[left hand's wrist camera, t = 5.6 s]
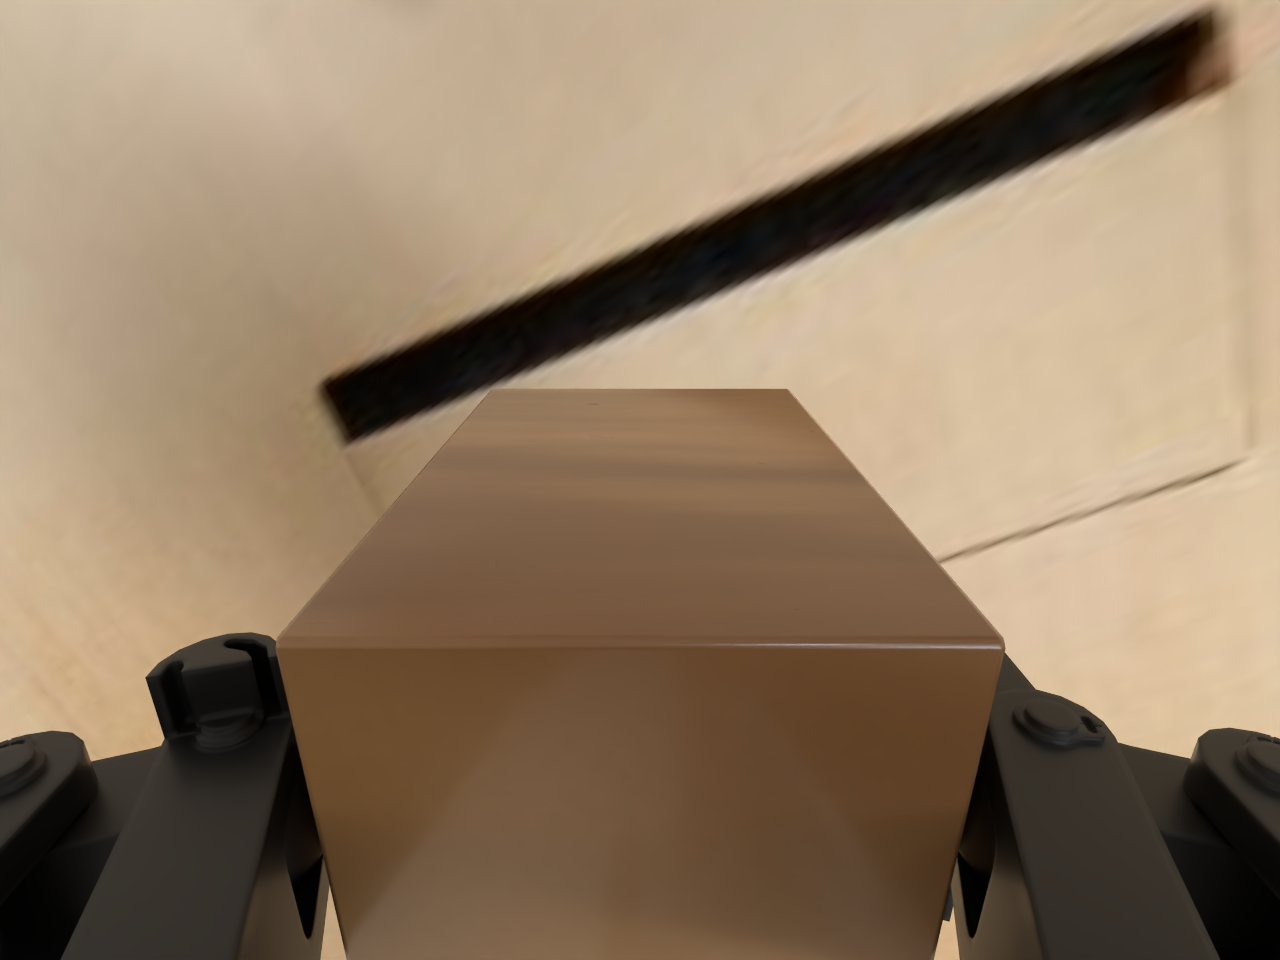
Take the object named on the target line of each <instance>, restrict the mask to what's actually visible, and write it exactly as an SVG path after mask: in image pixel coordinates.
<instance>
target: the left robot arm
mask: <svg viewBox="0 0 1280 960" xmlns="http://www.w3.org/2000/svg"><path fill="white" fill-rule="evenodd" d="M275 648H276V641H275V640H274V639H272V638H271V637H270V636H267V635H262V634H257V633H234V634H226V635H222V636H218V637H213V638H209V639H205V640H202V641H200V642H197V643H195V644H192V645H190V646H187V647H185V648H183V649H180V650H178V651H177V652H175V653H174V654H172V655H170V656H169V657H167V658H166V659H164V660H163V661H161V662H160V663H158V664H157V665H156V667H155V668H154V669H153V670H152V671H151V672H150V673H149V674H148V675H147V677H146V681H147V684H148V687H149V690H150V693H151V697H152V700H153V703H154V706H155V709H156V712H157V716H158V719H159V722H160V725H161V728H162V731H163V734H164V738H165V739H164V741H163V743H162V745H161V746H159V747H156V748H152V749H148V750H143V751H138V752H134V753H129V754H124V755H120V756H115V757H110V758H106V759H101V760H96V761H92V762H91V760H90V758H89V755H88V752H87V750H86V747H85V744H84V741H83V740H81V739H80V738H79V737H77V736H76V735H75V734H73V733H70V732H60V731H47V732H41V733H35V734H28V735H24V736H20V737H16V738H12V739H11V740H9V741H8V740H6V741H3V742H1V743H0V960H320V958H321V950H322V941H323V933H324V925H325V916H326V908H327V900H328V892H329V879H328V875H327V871H326V866H325V862H324V858H323V853H322V849H321V845H320V840H319V836H318V832H317V827H316V823H315V819H314V814H313V810H312V805H311V801H310V797H309V792H308V788H307V784H306V779H305V775H304V771H303V766H302V762H301V758H300V753H299V749H298V745H297V740H296V736H295V731H294V727H293V723H292V718H291V714H290V710H289V705H288V701H287V697H286V692H285V688H284V684H283V679H282V675H281V671H280V666H279V662H278V657H277V653H276V649H275ZM953 906H954V915H955V923H956V931H957V939H958V948H959V956H960V960H1280V739H1279V738H1276V737H1274V738H1273V737H1271V736H1270V735H1266V734H1262V733H1258V732H1254V731H1247V730H1241V729H1234V728H1222V729H1213V730H1209V731H1207V732H1206V733H1204V734H1203V735H1202V736H1200V737H1199V738H1198V741H1197V743H1196V746H1195V749H1194V751H1193V754H1192V757H1191V759H1189V758H1184V757H1180V756H1175V755H1170V754H1166V753H1161V752H1156V751H1151V750H1147V749H1142V748H1137V747H1133V746H1129V745H1125V744H1121V743H1118V742H1117V740H1116V738H1115V736H1114V735H1113V734H1112V732H1111V731H1110V730H1109V728H1108V727H1107V726H1106V724H1105V723H1104V722H1103V721H1102V720H1100V719H1099V718H1098V717H1096V716H1095V715H1094V714H1092V713H1091V712H1090V711H1088V710H1087V709H1086V708H1084V707H1082V706H1080V705H1078V704H1076V703H1074V702H1072V701H1070V700H1068V699H1065V698H1063V697H1061V696H1058V695H1054V694H1051V693H1047V692H1043V691H1040V690H1036V689H1035V688H1034V687H1033V686H1032V684H1031V683H1030V682H1029V681H1028V680H1027V678H1026V677H1025V676H1024V675H1023V674H1022V672H1021V671H1020V670H1019V669H1018V668H1017V666H1016V665H1015V664H1014V663H1013V662H1012V660H1011V659H1010V658H1009V657H1008V656H1007V655H1006V653H1005V652H1004V657H1003V661H1002V665H1001V670H1000V674H999V678H998V683H997V687H996V691H995V696H994V700H993V704H992V709H991V713H990V717H989V722H988V726H987V730H986V735H985V739H984V743H983V748H982V752H981V756H980V761H979V765H978V769H977V774H976V778H975V782H974V787H973V791H972V795H971V800H970V804H969V808H968V813H967V817H966V821H965V826H964V830H963V834H962V839H961V843H960V847H959V852H958V856H957V860H956V865H955V869H954V873H953V878H952V882H951V886H950V891H949V895H948V899H947V904H946V908H945V912H944V917H943V920H945V921H950V917H951V913H952V908H953Z"/></svg>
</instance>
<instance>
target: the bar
mask: <svg viewBox="0 0 1280 960" xmlns="http://www.w3.org/2000/svg"><path fill="white" fill-rule="evenodd" d="M275 649H276V653H277V657H278V662H279V666H280V671H281V675H282V679H283V684H284V688H285V692H286V697H287V701H288V705H289V710H290V714H291V718H292V723H293V727H294V731H295V736H296V740H297V745H298V749H299V753H300V758H301V762H302V766H303V771H304V775H305V779H306V784H307V788H308V792H309V797H310V801H311V805H312V810H313V814H314V819H315V823H316V827H317V832H318V836H319V840H320V845H321V849H322V853H323V858H324V862H325V866H326V871H327V875H328V879H329V884H330V888H331V893H332V897H333V901H334V906H335V910H336V914H337V919H338V923H339V927H340V932H341V936H342V940H343V945H344V949H345V953H346V958H347V960H934V956H935V951H936V947H937V943H938V938H939V934H940V930H941V925H942V921H943V917H944V912H945V908H946V904H947V899H948V895H949V891H950V886H951V882H952V878H953V873H954V869H955V865H956V860H957V856H958V852H959V847H960V843H961V839H962V834H963V830H964V826H965V821H966V817H967V813H968V808H969V804H970V800H971V795H972V791H973V787H974V782H975V778H976V774H977V769H978V765H979V761H980V756H981V752H982V748H983V743H984V739H985V735H986V730H987V726H988V722H989V717H990V713H991V709H992V704H993V700H994V696H995V691H996V687H997V683H998V678H999V674H1000V670H1001V665H1002V661H1003V657H1004V652H1005V643H1004V639H1003V637H1002V636H1001V635H1000V634H999V632H998V631H997V630H996V629H995V628H994V627H993V625H992V624H991V623H990V622H989V621H988V620H987V618H986V617H985V616H984V615H983V614H982V613H981V612H980V610H979V609H978V608H977V607H976V606H975V605H974V603H973V602H972V601H971V600H970V599H969V598H968V596H967V595H966V594H965V593H964V592H963V591H962V590H961V588H960V587H959V586H958V585H957V584H956V583H955V581H954V580H953V579H952V578H951V577H950V576H949V574H948V573H947V572H946V571H945V570H944V569H943V568H942V566H941V565H940V564H939V563H938V562H937V561H936V559H935V558H934V557H933V556H932V555H931V554H930V552H929V551H928V550H927V549H926V548H925V547H924V546H923V544H922V543H921V542H920V541H919V540H918V539H917V537H916V536H915V535H914V534H913V533H912V532H911V530H910V529H909V528H908V527H907V526H906V525H905V524H904V522H903V521H902V520H901V519H900V518H899V517H898V515H897V514H896V513H895V512H894V511H893V510H892V509H891V507H890V506H889V505H888V504H887V503H886V502H885V500H884V499H883V498H882V497H881V496H880V495H879V493H878V492H877V491H876V490H875V489H874V488H873V487H872V485H871V484H870V483H869V482H868V481H867V480H866V478H865V477H864V476H863V475H862V474H861V473H860V471H859V470H858V469H857V468H856V467H855V466H854V465H853V463H852V462H851V461H850V460H849V459H848V458H847V456H846V455H845V454H844V453H843V452H842V451H841V449H840V448H839V447H838V446H837V445H836V444H835V443H834V441H833V440H832V439H831V438H830V437H829V436H828V434H827V433H826V432H825V431H824V430H823V429H822V427H821V426H820V425H819V424H818V423H817V422H816V421H815V419H814V418H813V417H812V416H811V415H810V414H809V412H808V411H807V410H806V409H805V408H804V407H803V405H802V404H801V403H800V402H799V401H798V400H797V399H796V397H795V396H794V395H793V394H792V393H791V392H790V390H788V389H493V390H491V391H490V392H489V393H488V395H487V396H486V397H485V398H484V399H483V400H482V401H481V403H480V404H479V405H478V406H477V407H476V408H475V410H474V411H473V412H472V413H471V414H470V415H469V417H468V418H467V419H466V420H465V421H464V422H463V423H462V425H461V426H460V427H459V428H458V429H457V430H456V432H455V433H454V434H453V435H452V436H451V437H450V439H449V440H448V441H447V442H446V443H445V444H444V445H443V447H442V448H441V449H440V450H439V451H438V452H437V454H436V455H435V456H434V457H433V458H432V459H431V460H430V462H429V463H428V464H427V465H426V466H425V467H424V469H423V470H422V471H421V472H420V473H419V474H418V476H417V477H416V478H415V479H414V480H413V481H412V482H411V484H410V485H409V486H408V487H407V488H406V489H405V491H404V492H403V493H402V494H401V495H400V496H399V498H398V499H397V500H396V501H395V502H394V503H393V504H392V506H391V507H390V508H389V509H388V510H387V511H386V513H385V514H384V515H383V516H382V517H381V518H380V520H379V521H378V522H377V523H376V524H375V525H374V526H373V528H372V529H371V530H370V531H369V532H368V533H367V535H366V536H365V537H364V538H363V539H362V540H361V542H360V543H359V544H358V545H357V546H356V547H355V548H354V550H353V551H352V552H351V553H350V554H349V555H348V557H347V558H346V559H345V560H344V561H343V562H342V563H341V565H340V566H339V567H338V568H337V569H336V570H335V572H334V573H333V574H332V575H331V576H330V577H329V579H328V580H327V581H326V582H325V583H324V584H323V585H322V587H321V588H320V589H319V590H318V591H317V592H316V594H315V595H314V596H313V597H312V598H311V599H310V601H309V602H308V603H307V604H306V605H305V606H304V607H303V609H302V610H301V611H300V612H299V613H298V614H297V616H296V617H295V618H294V619H293V620H292V621H291V623H290V624H289V625H288V626H287V627H286V628H285V629H284V631H283V632H282V633H281V634H280V635H279V636H278V638H277V641H276V648H275Z"/></svg>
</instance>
